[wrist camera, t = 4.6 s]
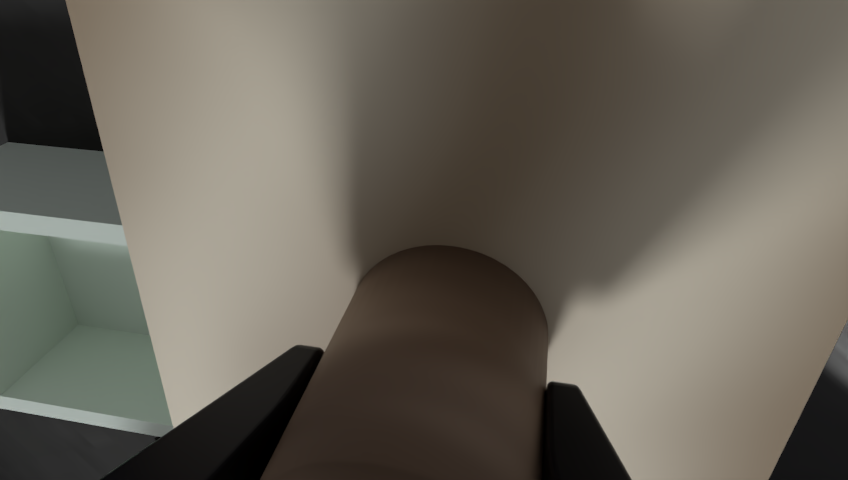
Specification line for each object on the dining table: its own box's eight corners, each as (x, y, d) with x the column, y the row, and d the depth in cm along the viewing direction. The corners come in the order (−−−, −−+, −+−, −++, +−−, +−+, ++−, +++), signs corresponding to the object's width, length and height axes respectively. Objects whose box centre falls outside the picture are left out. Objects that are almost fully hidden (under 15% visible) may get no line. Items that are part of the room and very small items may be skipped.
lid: (967, -22, 7) (1539, 123, 3) (703, 556, 13) (768, 879, 9) (89, -74, 9) (-341, -29, 4) (206, 457, 14) (62, 689, 10)
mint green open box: (233, 161, 22) (153, 229, 18) (263, 354, 26) (205, 444, 22) (12, 140, 23) (-110, 197, 19) (77, 326, 28) (-10, 406, 24)
